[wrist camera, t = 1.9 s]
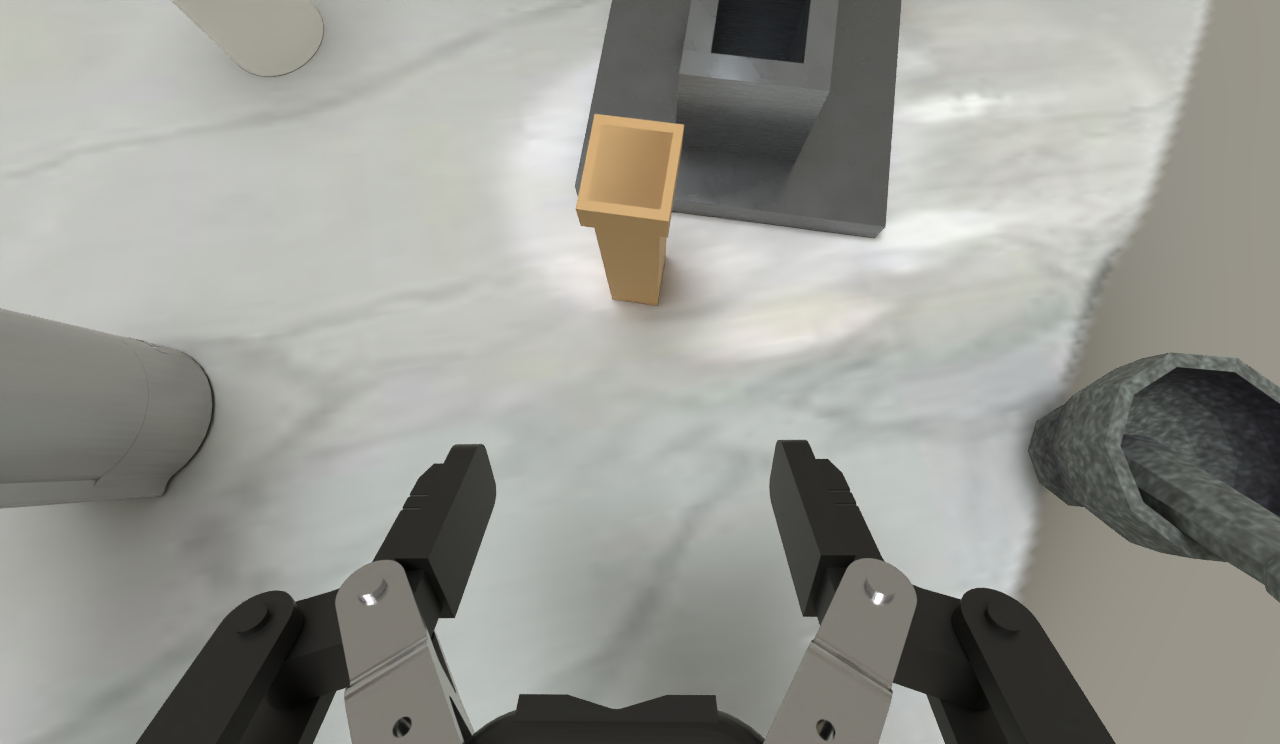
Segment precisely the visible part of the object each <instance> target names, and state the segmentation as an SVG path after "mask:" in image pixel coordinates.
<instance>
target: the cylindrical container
mask: <svg viewBox="0 0 1280 744" xmlns="http://www.w3.org/2000/svg"><path fill="white" fill-rule="evenodd" d="M171 1H172V2H173V3H174V4H175V5H176V6H177V7H178V8H179V9H180V10H181V11H182V12H183V13H184V14H186V15H187V16H188V17H189V18H190V19H191V20H192V21H193V22H194V23H195V24H196V25H197V26H198V27H199V28H200V29H201V30H202V31H203V32H204V33H205V34H207V35H208V36H209V37H210V38H211V39H212V40H213V41H214V42H215V43H216V44H217V45H218V46H219V47H220V48H221V49H222V50H223V51H224V52H225V53H226V54H227V55H229V56H230V57H231V58H232V59H233V60H234V61H235V62H236V63H237V64H238V65H239V66H240V67H242V68H243V69H244V70H246V71H248V72H250V73H252V74H255V75H259V76H278V75H283V74H286V73H289V72H292V71H294V70H296V69H298V68H299V67H301V66H302V65H304V64H305V63H306V62H307V61H308V60H309V59H310V58H312V56H313V55H314V54H315V52H316V51H317V50H318V48H319V45H320V43H321V41H322V37H323V22H322V18H321V16H320V14H319V12H318V10H317V9H316V8H315V6H314V5H313V4H312V2H311V1H310V0H171Z"/></svg>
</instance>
